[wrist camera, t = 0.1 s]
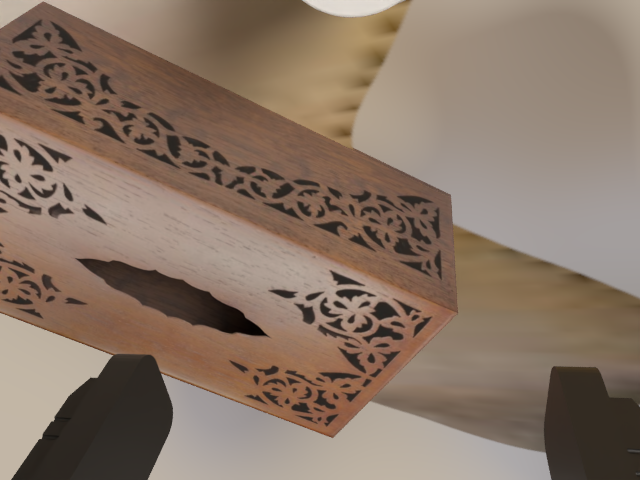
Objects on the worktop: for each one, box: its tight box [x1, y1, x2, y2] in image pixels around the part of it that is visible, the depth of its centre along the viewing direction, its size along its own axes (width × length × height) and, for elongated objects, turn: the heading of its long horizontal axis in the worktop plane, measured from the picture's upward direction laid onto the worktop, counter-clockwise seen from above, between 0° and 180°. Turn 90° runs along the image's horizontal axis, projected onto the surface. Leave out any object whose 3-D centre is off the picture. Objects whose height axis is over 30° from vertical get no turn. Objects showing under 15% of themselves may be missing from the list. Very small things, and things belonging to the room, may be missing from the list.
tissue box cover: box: [0, 2, 458, 438], centre depth 34 cm, size 26×14×10 cm, turn 65°
